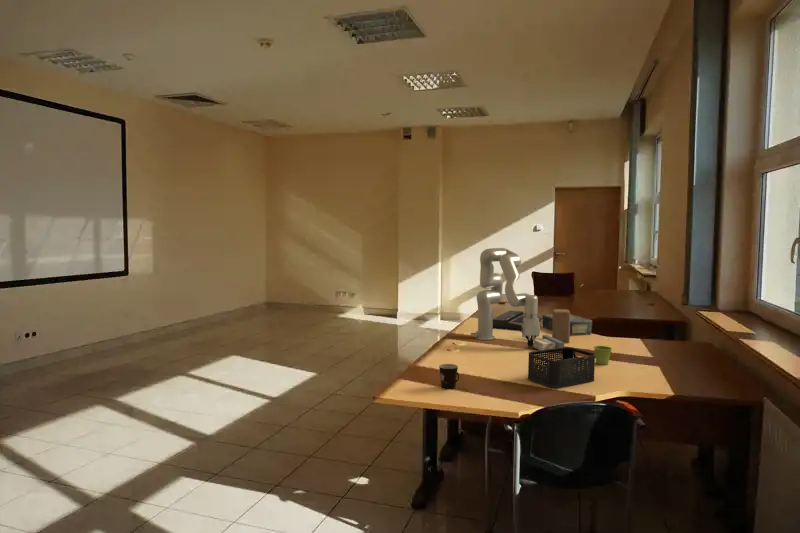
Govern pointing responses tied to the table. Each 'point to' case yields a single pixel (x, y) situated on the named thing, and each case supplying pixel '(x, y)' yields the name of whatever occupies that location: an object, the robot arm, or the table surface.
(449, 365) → the coffee mug
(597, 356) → the plant pot
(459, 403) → the table surface
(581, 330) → the metal box
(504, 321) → the vintage computer
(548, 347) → the off-white block
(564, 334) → the wooden block
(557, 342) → the curved slate gray block
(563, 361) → the storage bin
